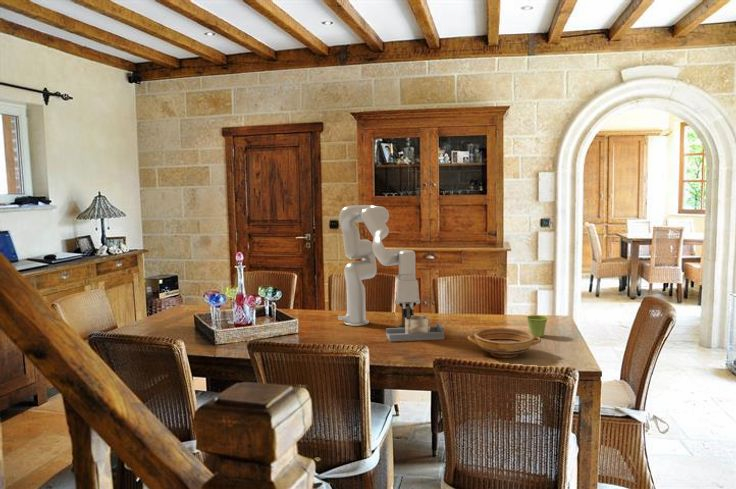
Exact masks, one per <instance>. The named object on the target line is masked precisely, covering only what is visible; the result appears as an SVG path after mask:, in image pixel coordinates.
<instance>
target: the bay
mask: <svg viewBox="0 0 736 489" xmlns="http://www.w3.org/2000/svg"><path fill="white" fill-rule="evenodd" d="M444 328H445V327H444V326H443V325H441V323H440V322H436V326H430V333H408V334H406V333H405V328H399V327H390V328H388V327H387V328H385V335H386V337H387V339H388V341H389V342H408V341H409V342H412V341H431V340H432V341H433V340H434V341H435V340H445V332H444V331H445V330H444Z"/></svg>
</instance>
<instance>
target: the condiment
mask: <svg viewBox="0 0 736 489" xmlns="http://www.w3.org/2000/svg"><path fill="white" fill-rule="evenodd" d="M409 306H410V303H405V307H408V308H409ZM411 316H415V309H414V307H413V309H412V315H411ZM395 328H405V317H404V316H403V308H402V307H401V324H400V325H395Z"/></svg>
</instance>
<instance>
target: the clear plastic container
mask: <svg viewBox="0 0 736 489" xmlns="http://www.w3.org/2000/svg"><path fill="white" fill-rule="evenodd" d="M406 309H407V317H406V318H405V333H406V334H408V333H430V327H431V319H430V318H429V317H428V315H427V314H426V315H425V314H423V315H422V314H421V315H414V316H411V317H410V309H409V308H408V307H406Z"/></svg>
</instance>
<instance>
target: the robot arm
mask: <svg viewBox="0 0 736 489" xmlns="http://www.w3.org/2000/svg"><path fill="white" fill-rule="evenodd" d="M389 218H390V213H389V211H388V209H387V208H386V207H385V206H379V205H371V204H368V205H367V204H363V205H362V204H360V205H357V204H356V205H348V206H345V207H343V208H342V209H341V211H339V217H338V220H339V226H340V229H341V232H342V233H341V234H342V240H343V248H344V255H345V257H346V258H347V259H349V260H357V259H361V260H359V261H358V260H357V261H352V262H351V261H350V262H349V263H347V264H345V267H344V270H343V273H344V278H345V279H344V280H345V285H346V286H345V287H346V288H345V289H346V290H345V291H346V313H345V315H338V316H337V319H338V320H340V321H343V323H344V324H345V325H347V326H352V327H353V326H354V327H359V326H361V327H362V326H366V325H368V324H369V321H370V320H369V319H366V288H365V285H364V283H363V280H370V279H373V278H375V276H376V275H377V273H378V272H377V270H378V269H377V268H378V267H377V261H378V262H379V264H381V265H382V266H385V267H389V266H390V267H391V266H397V265H398V274H396V275H395V278H396V279H397V283H396V290H395V291H396V292H395V299H394V304H395V305H397V306H400V307H401V309H402V308H403V316H404V317H405V318H406V317H407V309H406V307H405V303H410V306H409V309H410V317H411V315H412V309H413V308H414V307H415V306H416V305H419V304H420V303H421V300H420V290H419V282H418V280H417V279H416V252H415V251H414V250H411V249H404V248H399V247H398V248H390V249H389V248H388V249H386V247H385V246H384V244H383V242H382V240H384V239H385V238H386V237H387V236H388V235H389V232H390V229H389V227H388V225H387V224H386V223H387V222H388V221H389ZM355 223H363V224H364V225H365V227H366V228H367V230H368V231H369V234H371V237H372V238H373V239H372V241H371V240H369V239H366V238H363V239H361V236H360V231H359V228H358V226H356V224H355ZM376 259H377V261H376Z"/></svg>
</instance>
